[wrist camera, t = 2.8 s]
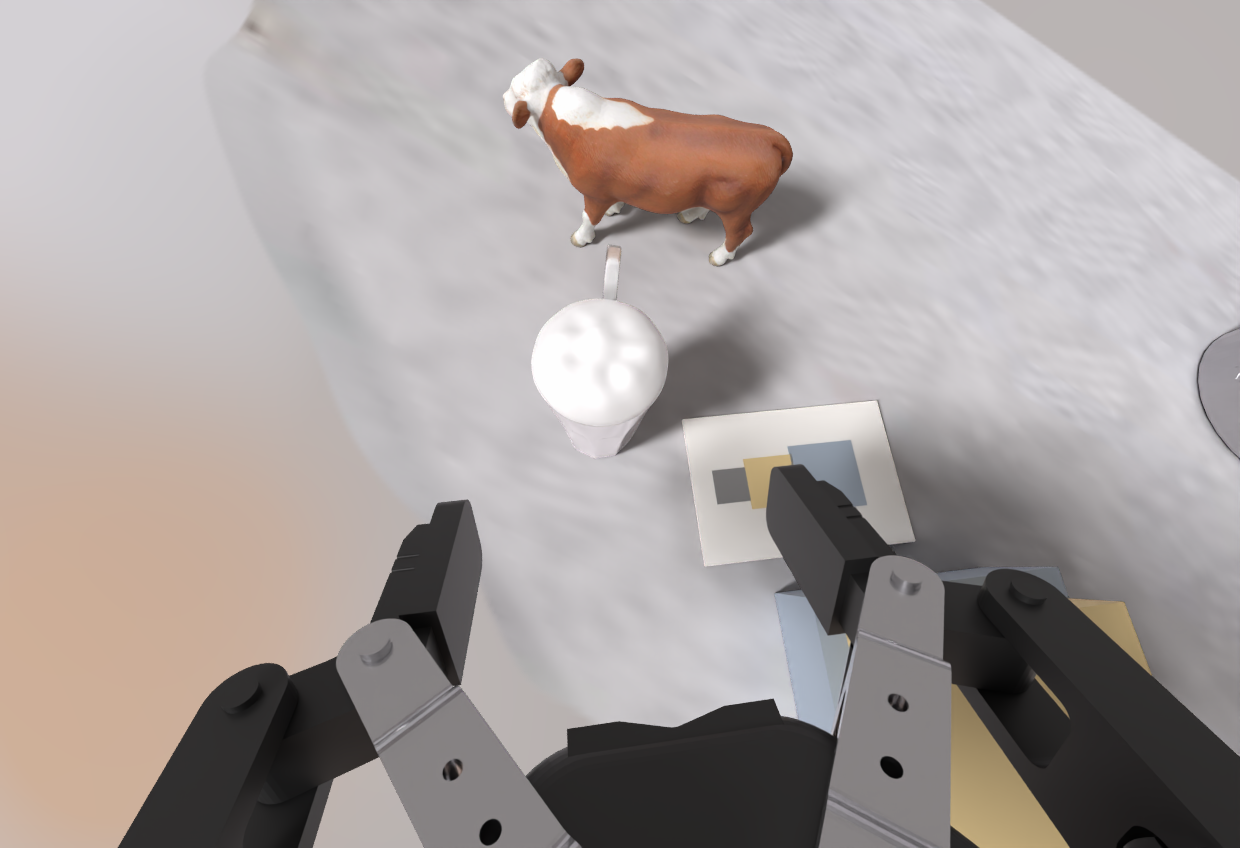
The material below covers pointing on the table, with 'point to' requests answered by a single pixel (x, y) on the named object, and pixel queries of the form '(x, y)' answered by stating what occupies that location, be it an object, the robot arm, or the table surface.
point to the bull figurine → (649, 154)
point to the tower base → (830, 651)
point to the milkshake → (600, 367)
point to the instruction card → (756, 442)
